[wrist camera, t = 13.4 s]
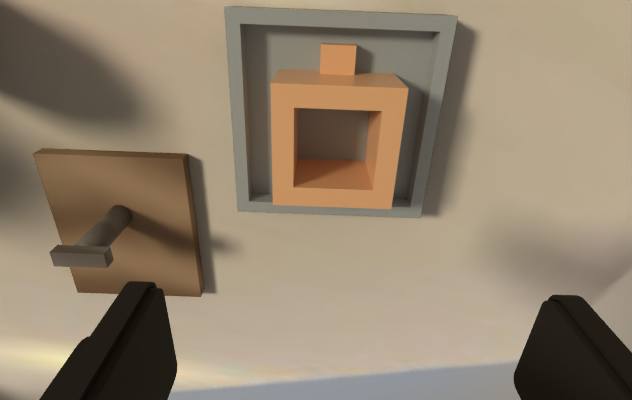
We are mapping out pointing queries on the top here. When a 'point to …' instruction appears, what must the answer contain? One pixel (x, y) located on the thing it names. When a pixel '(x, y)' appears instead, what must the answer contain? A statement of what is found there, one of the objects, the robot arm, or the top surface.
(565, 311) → the robot arm
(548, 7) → the top surface
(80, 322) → the top surface
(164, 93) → the top surface
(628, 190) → the top surface
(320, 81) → the ring
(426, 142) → the tray
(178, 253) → the brown board with hook
